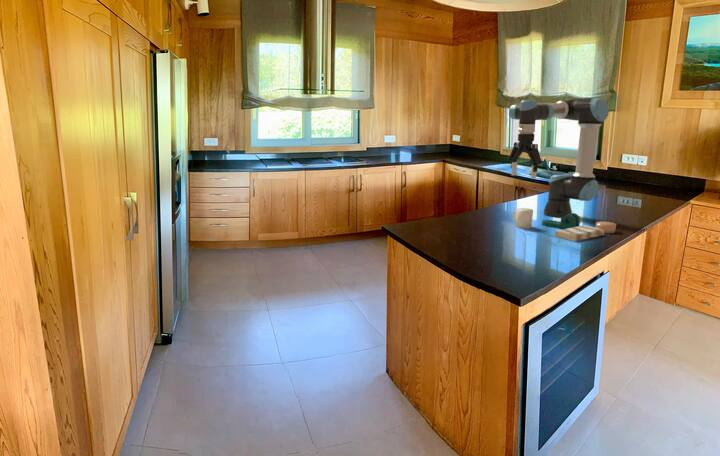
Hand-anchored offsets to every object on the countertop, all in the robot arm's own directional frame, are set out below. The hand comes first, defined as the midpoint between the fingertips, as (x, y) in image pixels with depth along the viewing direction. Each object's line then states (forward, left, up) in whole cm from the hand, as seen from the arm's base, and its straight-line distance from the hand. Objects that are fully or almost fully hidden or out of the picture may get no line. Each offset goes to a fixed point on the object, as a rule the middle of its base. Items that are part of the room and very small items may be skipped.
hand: (523, 176), depth 246 cm
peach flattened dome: (-34, +24, -27) cm, 50 cm away
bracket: (-22, +6, -27) cm, 36 cm away
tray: (-15, +23, -27) cm, 39 cm away
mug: (-7, -5, -27) cm, 28 cm away
